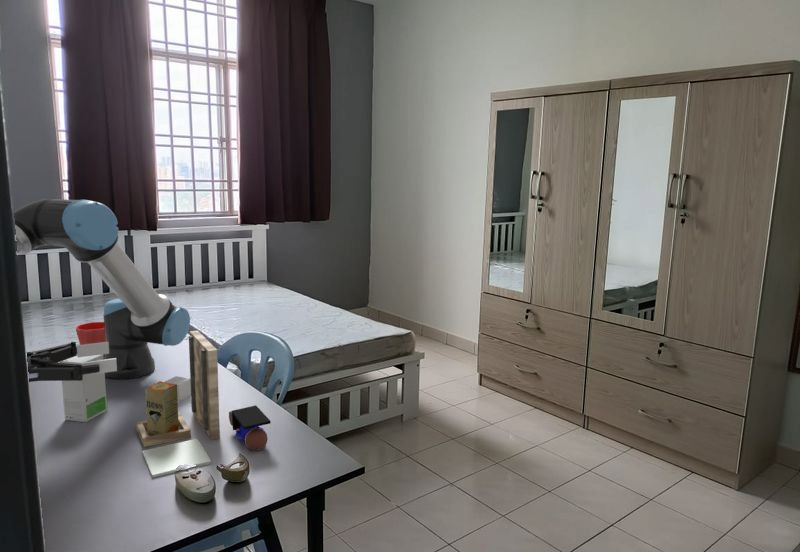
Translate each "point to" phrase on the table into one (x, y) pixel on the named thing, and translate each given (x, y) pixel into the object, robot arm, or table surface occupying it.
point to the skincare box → (84, 393)
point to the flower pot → (91, 333)
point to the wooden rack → (195, 394)
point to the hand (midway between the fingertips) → (112, 355)
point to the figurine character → (250, 426)
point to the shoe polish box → (162, 408)
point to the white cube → (181, 386)
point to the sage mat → (175, 457)
